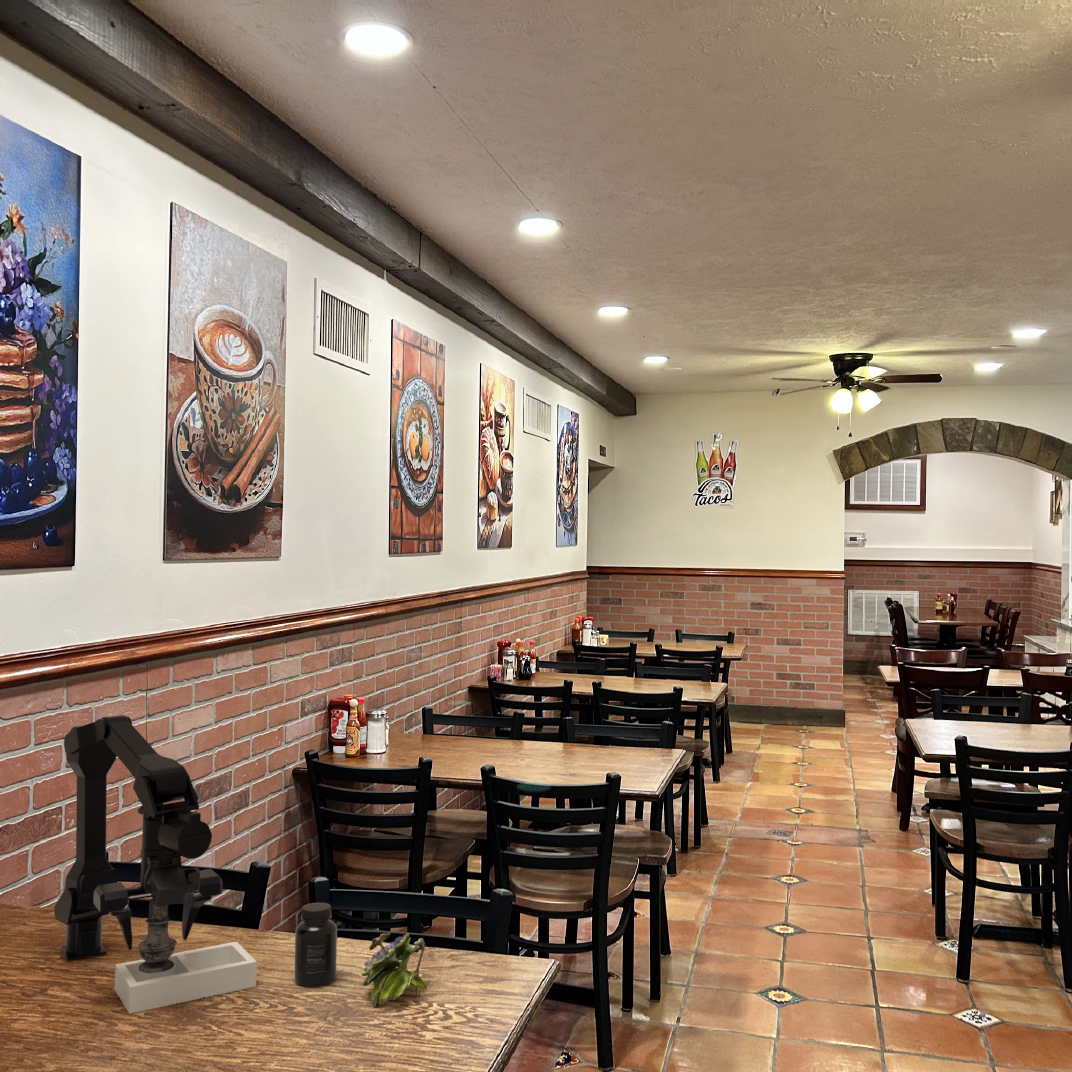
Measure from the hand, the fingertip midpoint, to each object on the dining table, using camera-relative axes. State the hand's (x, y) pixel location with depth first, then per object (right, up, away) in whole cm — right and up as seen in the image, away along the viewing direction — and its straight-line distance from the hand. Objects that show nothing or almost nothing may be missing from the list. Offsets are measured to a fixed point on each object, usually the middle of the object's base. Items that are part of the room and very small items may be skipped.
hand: (157, 944), depth 162 cm
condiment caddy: (+4, -8, +2) cm, 9 cm away
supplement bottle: (+24, -9, +7) cm, 26 cm away
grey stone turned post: (0, -4, 0) cm, 4 cm away
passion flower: (+38, -9, +2) cm, 39 cm away
